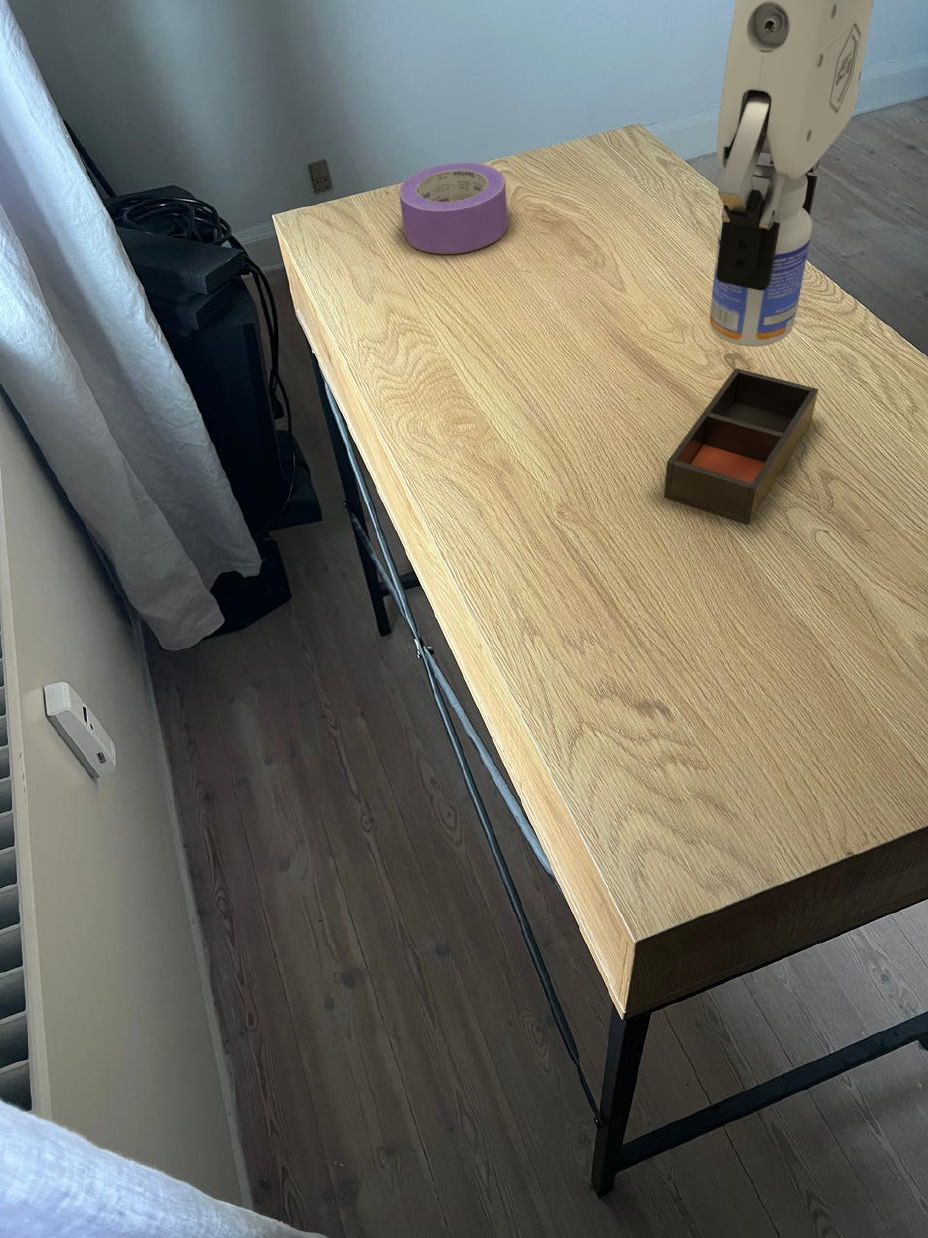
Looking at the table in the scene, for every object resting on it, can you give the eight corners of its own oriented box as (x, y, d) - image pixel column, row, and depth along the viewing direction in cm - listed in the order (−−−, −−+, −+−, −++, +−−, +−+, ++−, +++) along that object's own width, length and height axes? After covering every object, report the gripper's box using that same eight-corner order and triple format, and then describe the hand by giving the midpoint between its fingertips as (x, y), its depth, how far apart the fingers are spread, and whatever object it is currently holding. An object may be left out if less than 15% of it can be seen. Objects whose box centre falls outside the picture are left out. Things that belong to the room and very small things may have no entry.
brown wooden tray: (810, 424, 77) (818, 388, 75) (749, 524, 70) (755, 489, 68) (730, 403, 80) (735, 367, 78) (663, 497, 73) (666, 461, 71)
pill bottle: (794, 306, 62) (822, 157, 55) (792, 352, 59) (822, 200, 52) (711, 302, 64) (728, 156, 56) (704, 346, 60) (722, 198, 53)
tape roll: (404, 211, 109) (398, 167, 106) (503, 199, 109) (500, 155, 105) (406, 261, 102) (399, 216, 98) (512, 248, 101) (509, 202, 98)
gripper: (837, -39, 38) (769, 345, 52) (947, -143, 47) (865, 209, 61) (668, -50, 41) (646, 315, 55) (801, -145, 50) (754, 190, 64)
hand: (761, 256), depth 58 cm, fingers closed on pill bottle, 5 cm apart
